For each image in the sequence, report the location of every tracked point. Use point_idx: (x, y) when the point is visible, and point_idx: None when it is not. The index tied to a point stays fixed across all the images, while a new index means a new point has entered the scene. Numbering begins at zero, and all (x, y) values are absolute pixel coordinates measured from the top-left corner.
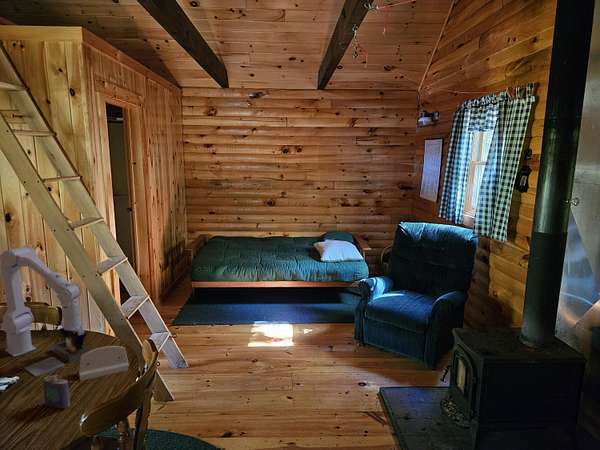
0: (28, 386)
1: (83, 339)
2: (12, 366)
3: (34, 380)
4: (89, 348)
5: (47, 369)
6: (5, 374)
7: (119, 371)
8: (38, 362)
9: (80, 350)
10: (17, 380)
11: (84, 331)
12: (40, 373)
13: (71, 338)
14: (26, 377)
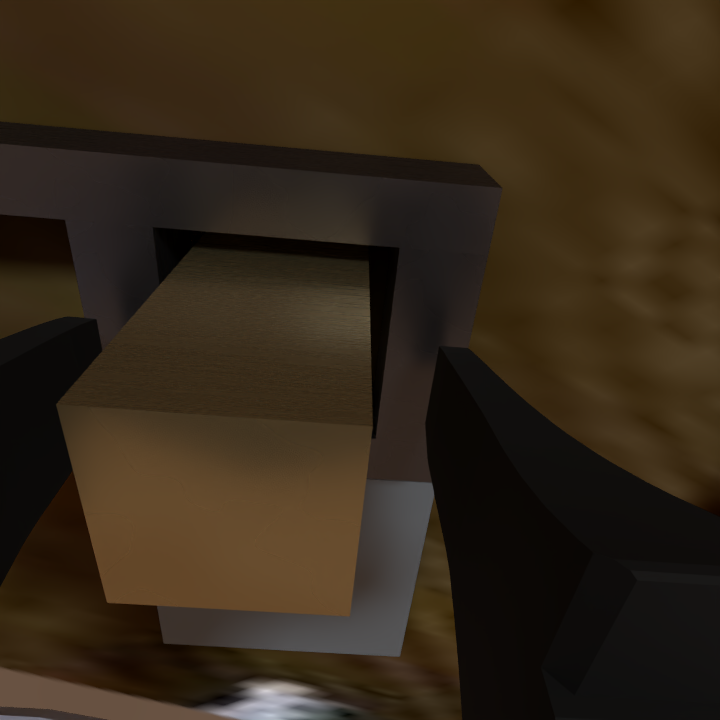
0: None
1: (583, 456)
2: (53, 653)
3: (439, 664)
4: (480, 186)
5: (378, 588)
6: (160, 702)
7: None
8: None
9: (403, 316)
10: (326, 700)
11: (694, 618)
12: (393, 631)
13: (283, 576)
14: (338, 669)
